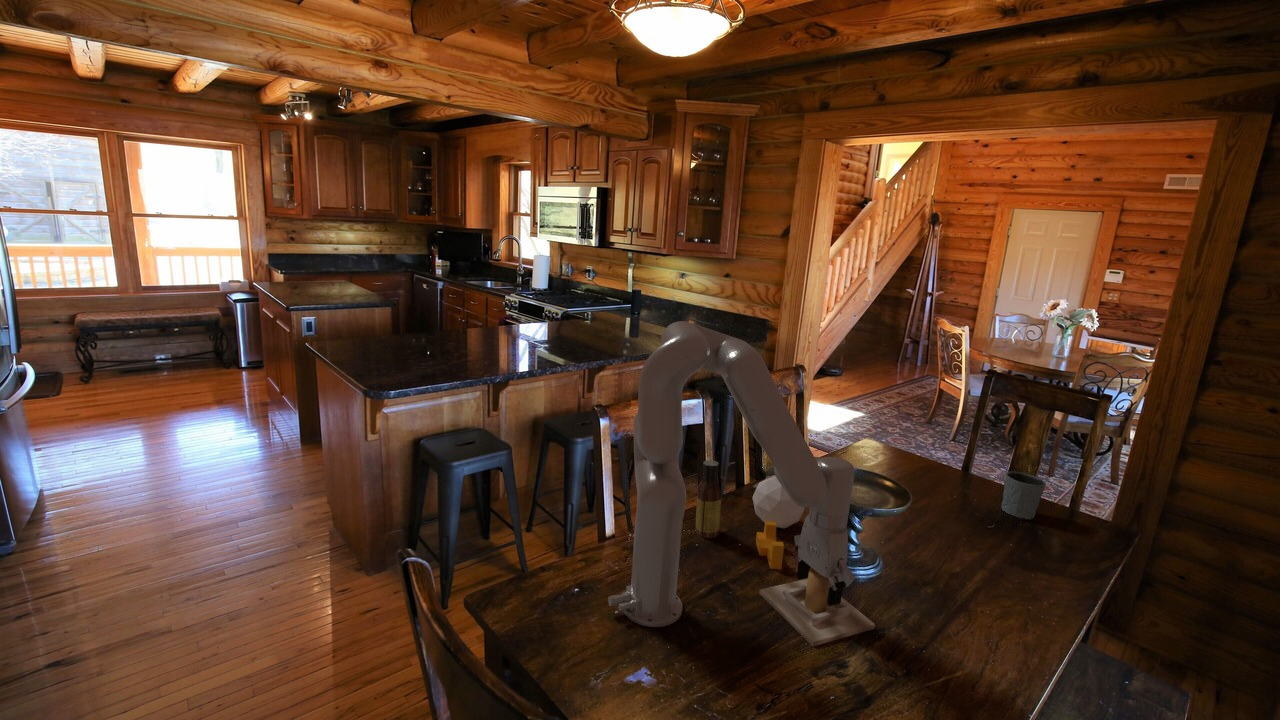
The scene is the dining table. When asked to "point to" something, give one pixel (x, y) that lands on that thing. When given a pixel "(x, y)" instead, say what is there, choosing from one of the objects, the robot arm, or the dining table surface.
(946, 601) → the dining table surface
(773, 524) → the orange blocky piece
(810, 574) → the tan rounded oblong piece
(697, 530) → the sauce bottle
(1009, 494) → the gray cup
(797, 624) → the grey square framed plate
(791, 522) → the geodesic sphere
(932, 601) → the dining table surface
